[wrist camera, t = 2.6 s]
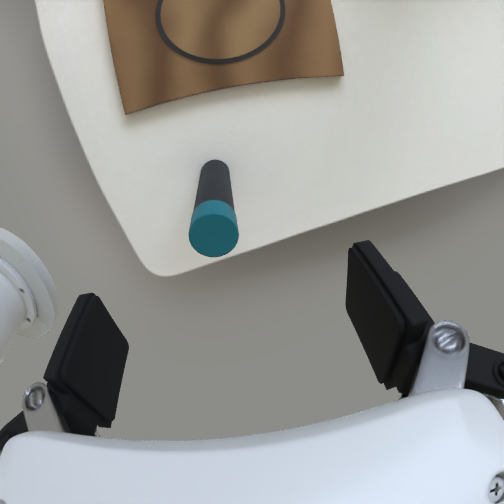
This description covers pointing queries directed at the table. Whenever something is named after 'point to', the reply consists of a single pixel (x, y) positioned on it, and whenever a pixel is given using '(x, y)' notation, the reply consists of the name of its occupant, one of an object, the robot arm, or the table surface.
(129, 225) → the table surface
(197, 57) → the pad
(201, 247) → the marker
